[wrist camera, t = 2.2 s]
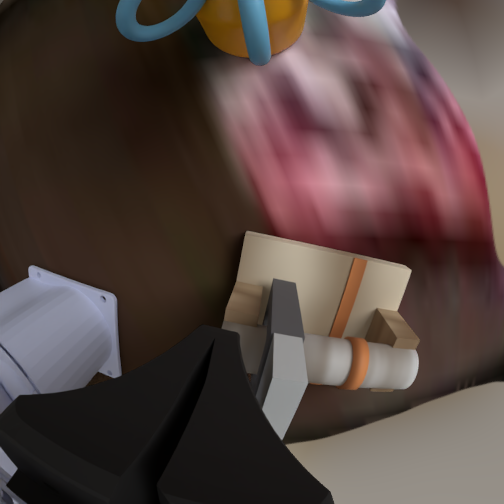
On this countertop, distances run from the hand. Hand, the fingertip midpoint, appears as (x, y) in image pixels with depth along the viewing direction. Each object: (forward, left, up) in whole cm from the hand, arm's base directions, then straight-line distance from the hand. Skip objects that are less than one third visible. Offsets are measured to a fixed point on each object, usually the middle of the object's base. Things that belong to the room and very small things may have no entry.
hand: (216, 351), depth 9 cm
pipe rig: (+5, -2, -8) cm, 9 cm away
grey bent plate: (+2, -2, -6) cm, 6 cm away
